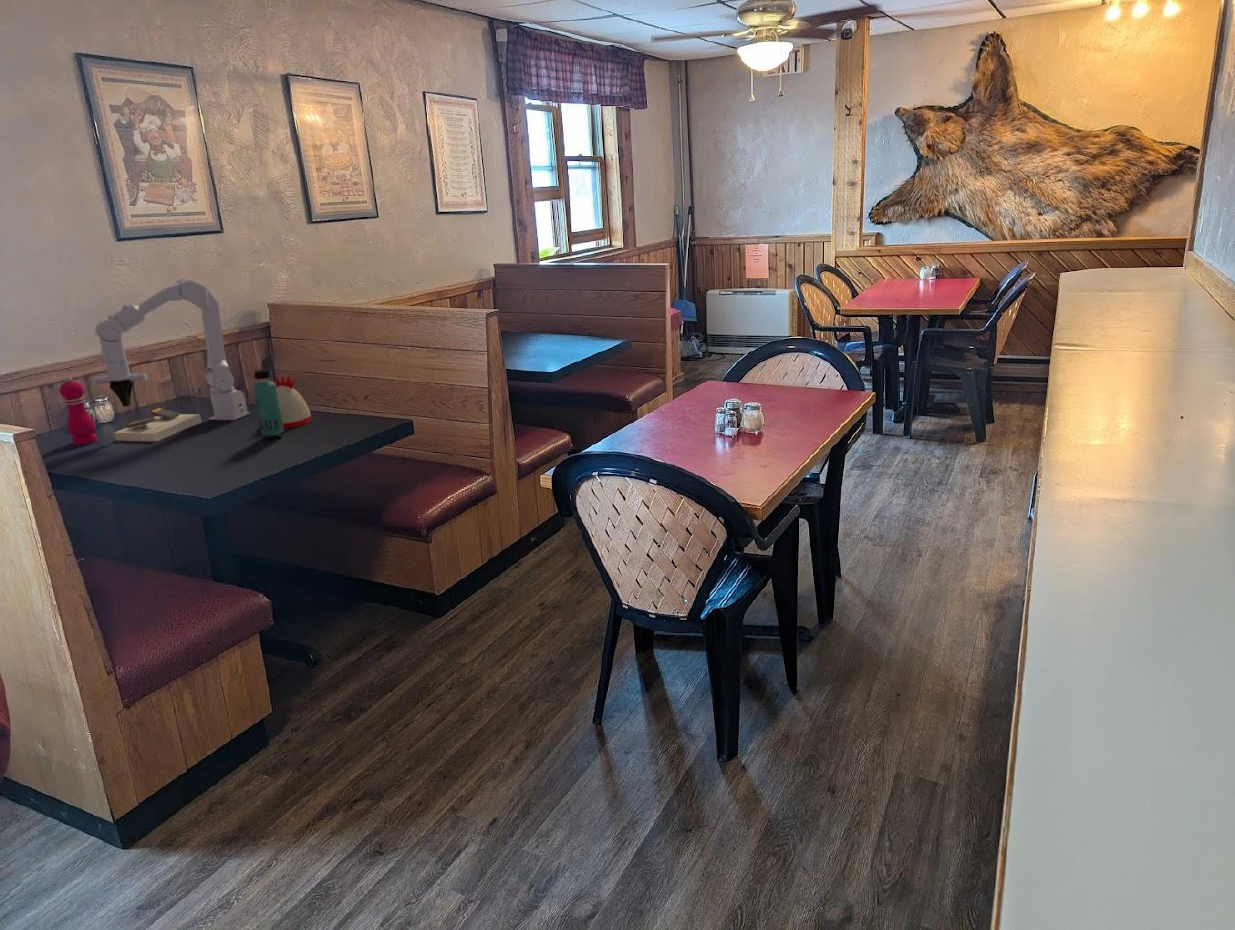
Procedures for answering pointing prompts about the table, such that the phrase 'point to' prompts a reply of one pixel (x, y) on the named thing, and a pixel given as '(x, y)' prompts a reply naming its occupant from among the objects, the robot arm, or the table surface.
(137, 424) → the block
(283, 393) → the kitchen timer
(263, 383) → the beverage bottle
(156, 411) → the block
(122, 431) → the switch console
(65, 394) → the pepper mill
